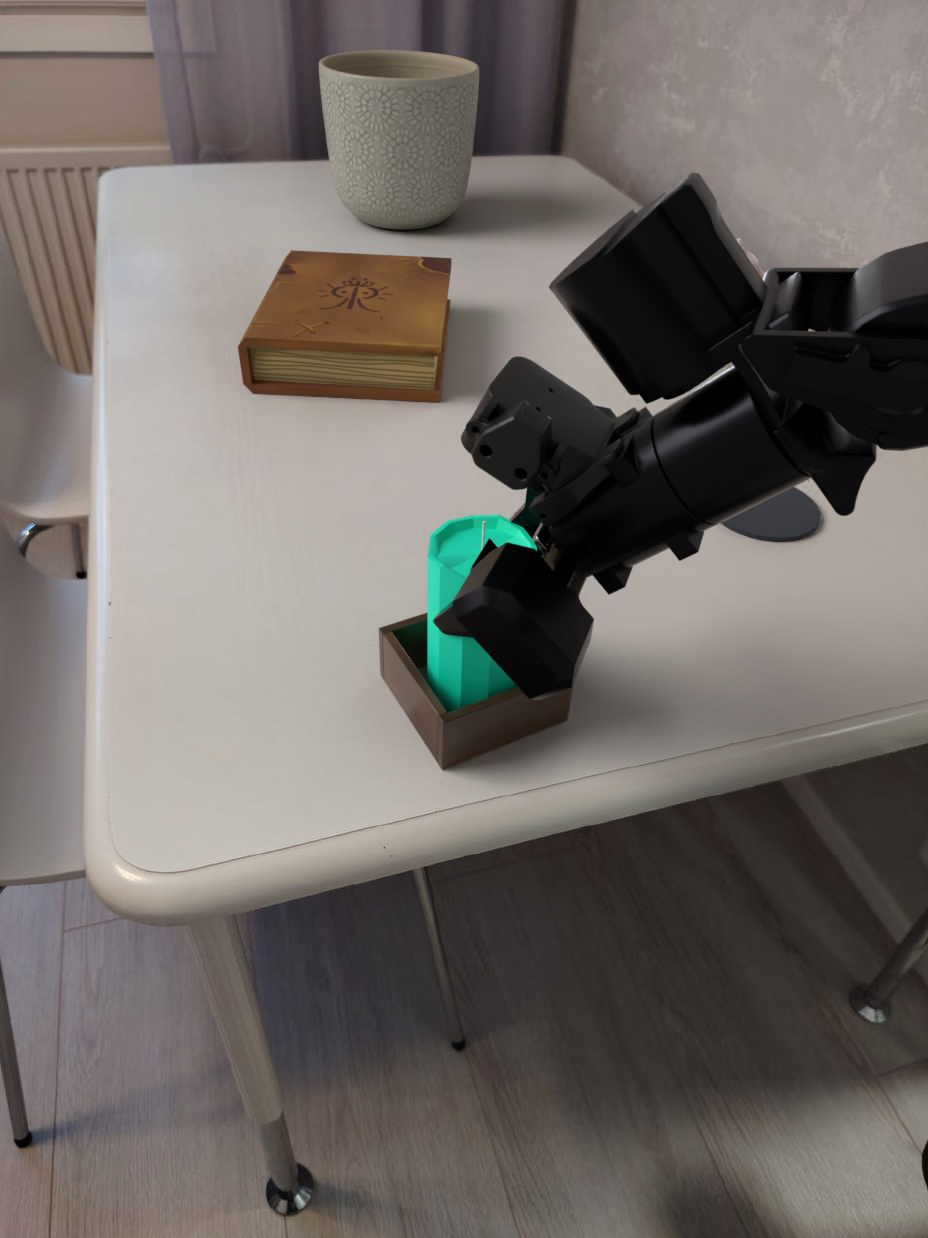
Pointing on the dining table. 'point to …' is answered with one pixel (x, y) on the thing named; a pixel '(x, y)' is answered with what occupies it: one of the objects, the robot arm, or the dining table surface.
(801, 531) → the coaster
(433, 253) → the dining table surface
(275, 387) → the diary
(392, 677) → the holder
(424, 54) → the planter
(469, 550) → the candle
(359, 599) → the dining table surface
